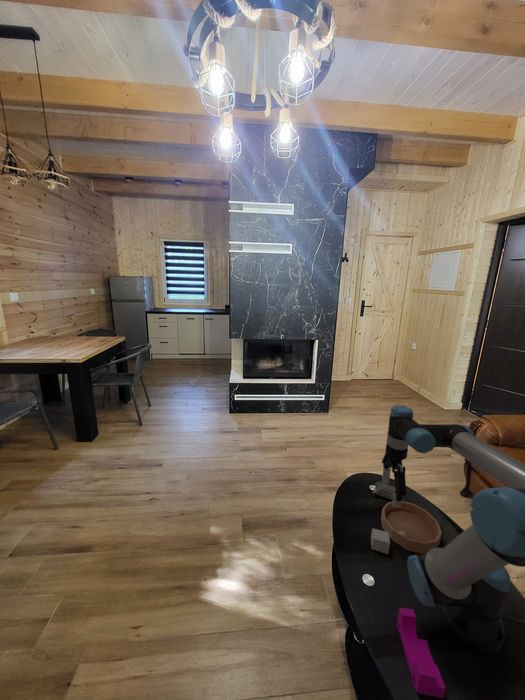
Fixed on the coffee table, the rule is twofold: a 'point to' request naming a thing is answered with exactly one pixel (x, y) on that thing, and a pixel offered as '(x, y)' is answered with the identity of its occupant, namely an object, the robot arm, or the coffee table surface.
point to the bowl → (411, 527)
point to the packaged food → (384, 490)
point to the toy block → (419, 656)
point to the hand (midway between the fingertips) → (390, 494)
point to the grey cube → (380, 541)
